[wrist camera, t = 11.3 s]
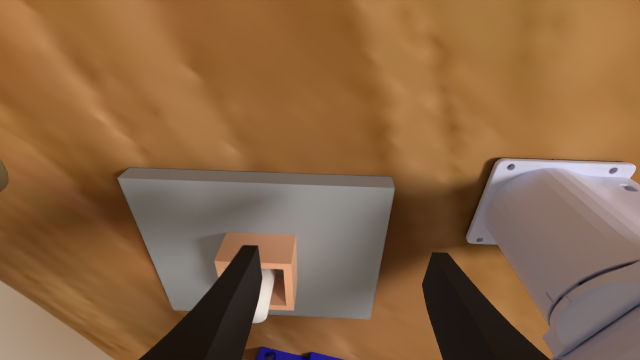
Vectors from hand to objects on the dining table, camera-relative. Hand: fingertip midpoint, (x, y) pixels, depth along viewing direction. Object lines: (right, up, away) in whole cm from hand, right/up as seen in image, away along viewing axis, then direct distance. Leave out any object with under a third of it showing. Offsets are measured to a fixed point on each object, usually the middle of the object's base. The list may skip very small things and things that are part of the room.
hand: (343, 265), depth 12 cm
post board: (-6, -2, +14) cm, 16 cm away
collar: (-6, -3, +13) cm, 14 cm away
